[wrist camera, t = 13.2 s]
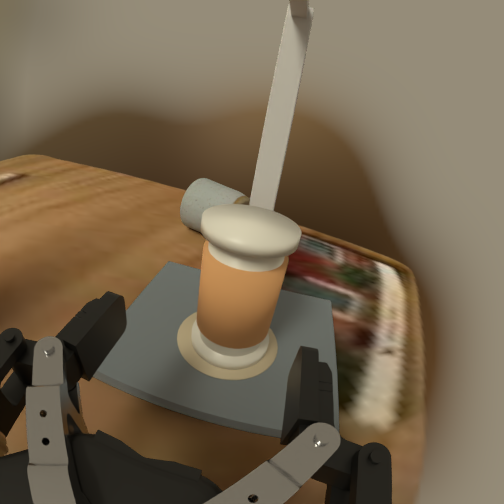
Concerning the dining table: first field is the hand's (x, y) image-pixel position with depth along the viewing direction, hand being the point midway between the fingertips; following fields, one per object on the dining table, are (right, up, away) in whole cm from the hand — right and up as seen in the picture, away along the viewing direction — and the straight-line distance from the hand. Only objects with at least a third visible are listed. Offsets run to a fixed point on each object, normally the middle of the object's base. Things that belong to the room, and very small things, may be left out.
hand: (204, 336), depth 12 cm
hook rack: (0, -4, +11) cm, 12 cm away
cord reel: (0, -3, +10) cm, 10 cm away
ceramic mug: (-3, +6, +31) cm, 32 cm away
